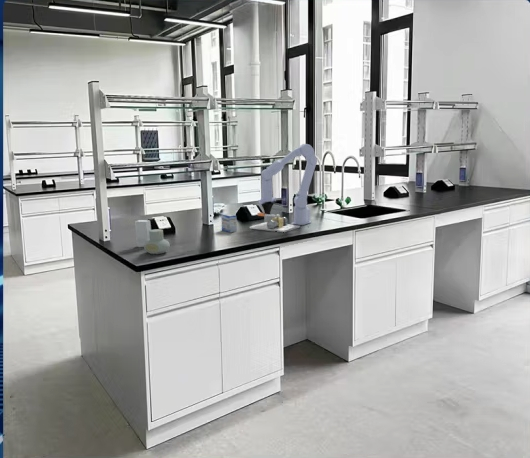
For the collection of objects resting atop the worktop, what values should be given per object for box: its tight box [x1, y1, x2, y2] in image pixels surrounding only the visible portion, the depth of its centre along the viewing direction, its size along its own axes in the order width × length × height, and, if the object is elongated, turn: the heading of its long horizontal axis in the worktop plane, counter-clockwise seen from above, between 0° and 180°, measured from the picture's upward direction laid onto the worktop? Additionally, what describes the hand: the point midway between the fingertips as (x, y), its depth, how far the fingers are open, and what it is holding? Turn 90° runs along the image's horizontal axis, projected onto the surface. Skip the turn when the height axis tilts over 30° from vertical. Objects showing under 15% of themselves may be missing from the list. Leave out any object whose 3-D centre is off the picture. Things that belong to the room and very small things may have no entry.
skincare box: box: [134, 219, 152, 248], centre depth 222 cm, size 6×4×12 cm
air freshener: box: [143, 228, 171, 255], centre depth 210 cm, size 11×8×10 cm
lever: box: [256, 212, 281, 218], centre depth 262 cm, size 14×3×1 cm, turn 54°
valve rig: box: [249, 216, 301, 233], centre depth 260 cm, size 16×22×6 cm
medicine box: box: [220, 213, 238, 233], centre depth 254 cm, size 8×4×9 cm, turn 40°
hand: (267, 215), depth 269 cm, fingers closed
